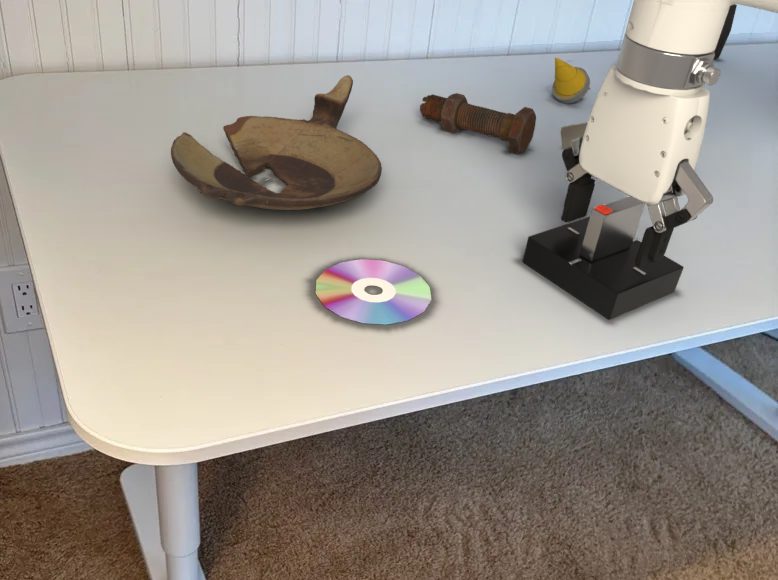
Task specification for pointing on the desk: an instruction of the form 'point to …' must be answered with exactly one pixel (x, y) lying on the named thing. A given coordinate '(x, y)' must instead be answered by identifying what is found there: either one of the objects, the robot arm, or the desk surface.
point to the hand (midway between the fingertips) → (608, 240)
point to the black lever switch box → (599, 271)
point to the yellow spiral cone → (569, 82)
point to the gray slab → (611, 228)
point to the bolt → (481, 120)
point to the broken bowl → (285, 159)
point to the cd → (395, 304)
